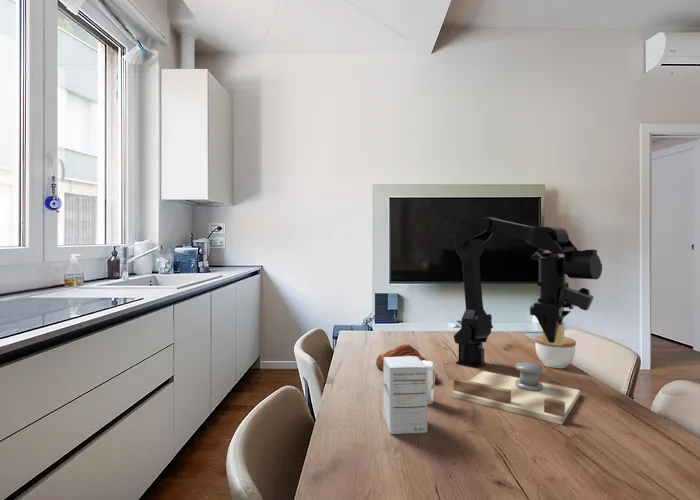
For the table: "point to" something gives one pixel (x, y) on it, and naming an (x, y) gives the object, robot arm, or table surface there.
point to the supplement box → (405, 395)
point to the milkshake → (430, 380)
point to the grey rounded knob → (529, 376)
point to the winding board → (517, 396)
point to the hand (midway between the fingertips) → (553, 341)
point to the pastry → (400, 352)
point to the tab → (556, 336)
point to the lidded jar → (555, 352)
